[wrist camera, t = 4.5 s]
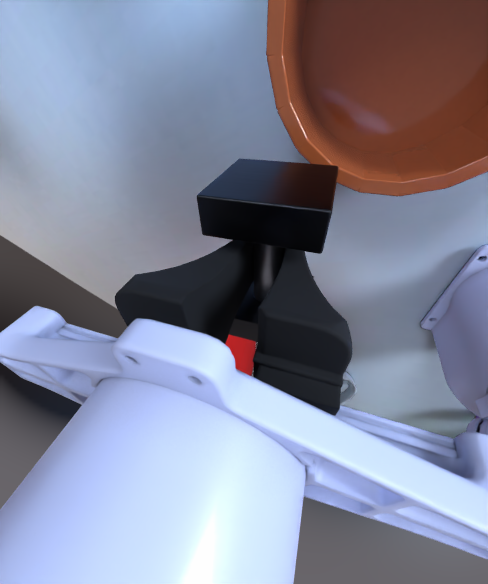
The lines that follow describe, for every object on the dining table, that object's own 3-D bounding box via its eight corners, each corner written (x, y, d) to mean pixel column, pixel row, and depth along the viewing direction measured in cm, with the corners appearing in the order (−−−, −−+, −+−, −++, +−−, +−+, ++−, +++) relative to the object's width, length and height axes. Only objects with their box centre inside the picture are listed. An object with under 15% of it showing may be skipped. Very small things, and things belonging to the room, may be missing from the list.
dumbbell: (309, 294, 16) (297, 352, 13) (242, 281, 17) (217, 331, 14) (339, 165, 10) (332, 210, 7) (238, 157, 12) (195, 194, 8)
